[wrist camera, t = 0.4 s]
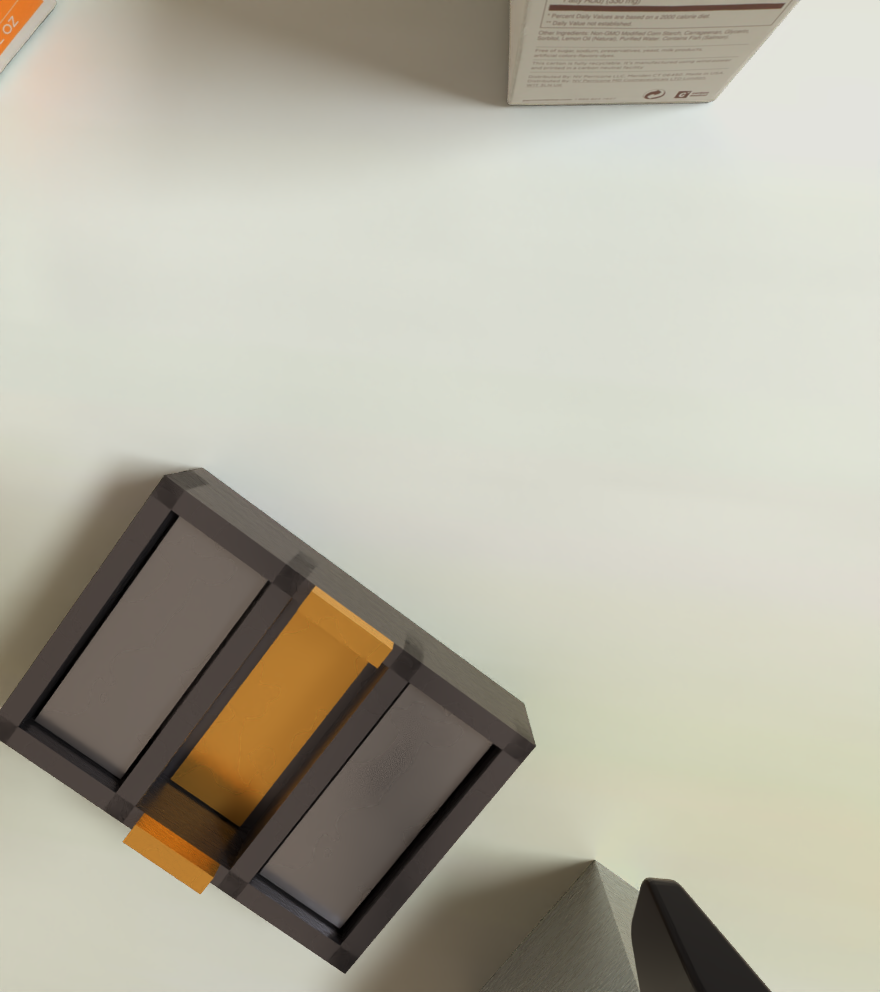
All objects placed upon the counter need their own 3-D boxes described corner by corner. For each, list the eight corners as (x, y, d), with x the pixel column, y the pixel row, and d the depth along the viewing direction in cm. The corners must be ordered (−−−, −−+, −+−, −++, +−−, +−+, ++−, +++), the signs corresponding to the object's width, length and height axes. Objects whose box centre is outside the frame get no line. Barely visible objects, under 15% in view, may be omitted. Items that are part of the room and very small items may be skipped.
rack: (357, 905, 24) (342, 990, 20) (45, 690, 23) (-29, 740, 19) (524, 703, 23) (538, 756, 19) (202, 468, 22) (155, 477, 18)
